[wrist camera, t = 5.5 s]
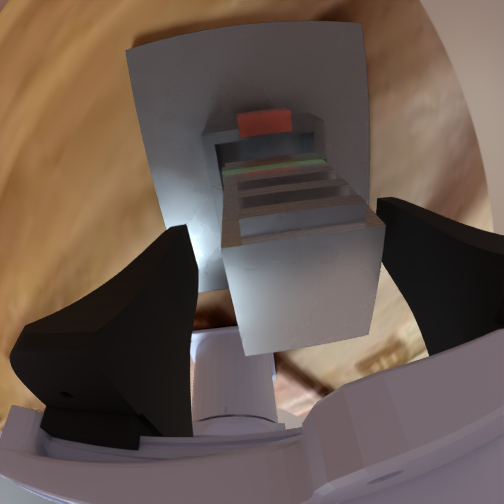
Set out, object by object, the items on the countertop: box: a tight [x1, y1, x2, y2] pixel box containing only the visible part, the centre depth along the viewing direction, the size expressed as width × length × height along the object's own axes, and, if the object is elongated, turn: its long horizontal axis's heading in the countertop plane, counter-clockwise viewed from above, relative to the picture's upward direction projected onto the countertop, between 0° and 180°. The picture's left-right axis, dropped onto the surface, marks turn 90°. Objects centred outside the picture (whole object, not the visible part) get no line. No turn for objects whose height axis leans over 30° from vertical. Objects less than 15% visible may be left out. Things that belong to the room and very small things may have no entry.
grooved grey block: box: [221, 152, 386, 356], centre depth 11 cm, size 5×4×7 cm
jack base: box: [125, 21, 370, 293], centre depth 17 cm, size 18×14×5 cm
